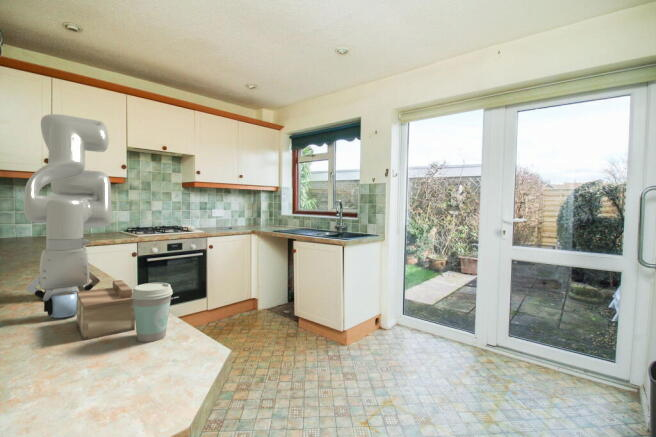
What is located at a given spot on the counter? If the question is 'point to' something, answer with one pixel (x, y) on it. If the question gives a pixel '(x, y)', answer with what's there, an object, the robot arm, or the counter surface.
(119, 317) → the crate
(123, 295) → the lid
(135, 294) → the coffee cup
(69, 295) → the pale blue rounded block
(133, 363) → the counter surface
